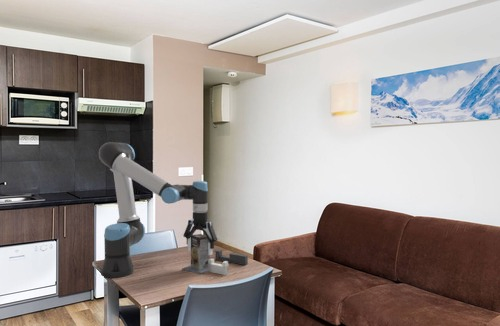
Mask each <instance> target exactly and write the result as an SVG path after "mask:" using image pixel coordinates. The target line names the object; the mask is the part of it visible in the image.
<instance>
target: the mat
mask: <svg viewBox="0 0 500 326" xmlns="http://www.w3.org/2000/svg"><path fill="white" fill-rule="evenodd" d="M181 270H182V271H187V272H192V273H195V274H201V275H203V274H206V273H208V272H209V268H208V269H204V270H198V269H196V268H194V267H192V266H191V264H190V265H187V266H185V267H182V268H181Z"/></svg>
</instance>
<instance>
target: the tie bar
mask: <svg viewBox="0 0 500 326" xmlns="http://www.w3.org/2000/svg"><path fill="white" fill-rule="evenodd" d="M248 258H249V255H246V254H242V253H240V254H239V253H234V252H230V253H229V256H226V255H225V256H224V255H223V250H222V249H216V250H215V260H217V261H223V262H224V261H228V263H233V264H238V265H244V266H246V265H248V264H249V263H248V262H249V261H248V260H249V259H248Z"/></svg>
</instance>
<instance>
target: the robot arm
mask: <svg viewBox="0 0 500 326" xmlns="http://www.w3.org/2000/svg"><path fill="white" fill-rule="evenodd" d="M98 158H99V160H100V162H101V163H102V164H104V166H107V167H108V168H109V170H110V171H111V172H112V173H113V179H114V186H115V187H114V188H115V195H116V200H117V201H116V202H117V208H118V209H117V210H118V216H119V217H118V219H117V220H116V223H113V224H110V225H108V226H106V227H105V228H104V234H103V236H104V260H103V263H102V267H101V268H100V276H102V277H104V278H121V277H126V276H129V275H131V274H133V273H134V269H135V268H134V265H133V261H132V259H131V254H130V253H131V252H130V251H131V248H130V247H131V246H134V245H136V244H138V243H139V242H140V241H142V240H143V238H144V237H145V233H146V228H145V226H144V223H142V221H141V217H140V216H139V215H137V210H136V202H135V194H134V187H133V181H135V182H136V183H138V184H140V185H141V186H143V187H144V188H146V189H148V190H149V191H151V192H152V193H154V194H155V195H157V196H158V197H160V198H161V199H162V201H163V202H164V203H165V204H176V203H177V202H180V201H183V200H187V201H189V200H191V201H192V219H189V220H188V222H187V225H186V228H185V229H184V230H185V231H184V232H183V234H182V235H183V237H184V238H185V239H186V245H187V249H186V250H187V252H188V253H189V252H191V235H195V234H194V233H195V232H196V231H197V230H199V231H202V232H203V233H204V235H205V236H207V238H208V240H209V241H210V242H208V255H209V256H210V257H211V256H212V255H214V254H213V253H214V251H213V250H214V248H215V242H217V241H218V237H217V235H216V232H215V229H214V227H213V222H212V221H208V208H209V207H208V204H209V203H208V194H209V189H208V182H207V181H205V180H204V181H203V180H195V181H193V182H192V184H171V183H169V182H168V181H166V180H164V179H162V178H161V177H160V176H158V175H156V174H155V173H153V172H152V171H150V170H148V169H147V168H145V167H143V166H141V165H140V164H139V163H137V162H135V161H134V160H135V158H136V154H135V150H134V148H133V147H132V145H130V144H128V143H125V142H113V141H112V142H111V141H109V142H105V143H104V144H102V145H101V146H100V148H99V150H98Z"/></svg>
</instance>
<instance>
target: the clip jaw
mask: <svg viewBox="0 0 500 326" xmlns="http://www.w3.org/2000/svg"><path fill="white" fill-rule="evenodd" d="M208 272H209V273H214V274H219V275H223V276H227V275H229V262H228V261H223V262H222V264H221V263H216V262H215V259H214V258H210V259H209V271H208Z"/></svg>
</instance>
